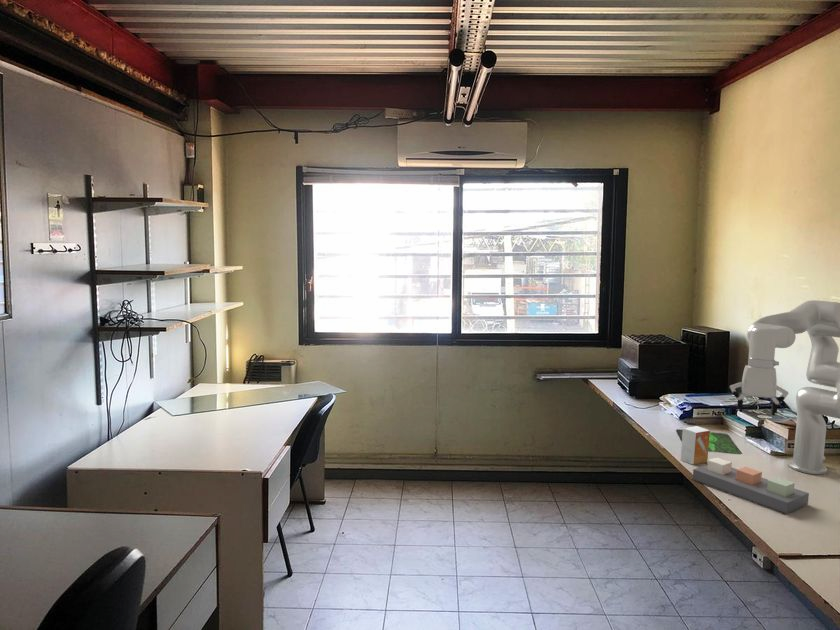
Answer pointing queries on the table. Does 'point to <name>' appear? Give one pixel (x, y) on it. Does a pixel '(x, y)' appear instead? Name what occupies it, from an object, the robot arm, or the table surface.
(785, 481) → the sage key
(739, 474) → the terracotta key
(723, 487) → the key console
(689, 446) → the small box
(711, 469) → the cream key
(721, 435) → the mouse mat
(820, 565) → the table surface
